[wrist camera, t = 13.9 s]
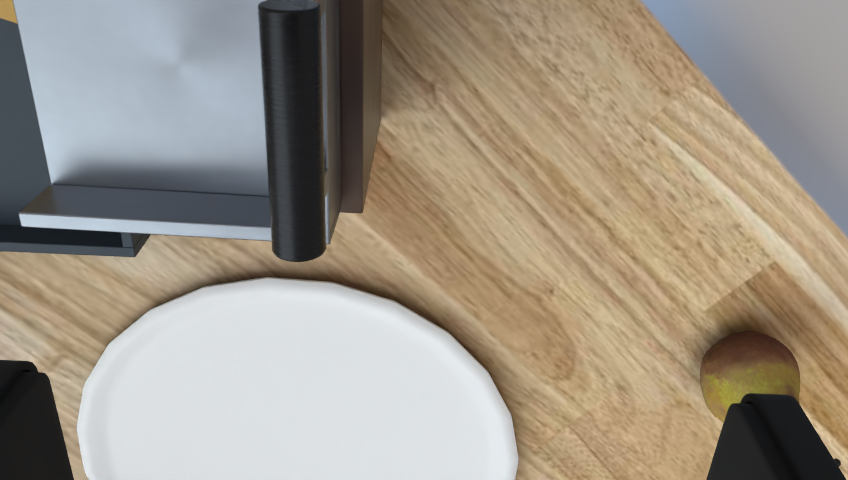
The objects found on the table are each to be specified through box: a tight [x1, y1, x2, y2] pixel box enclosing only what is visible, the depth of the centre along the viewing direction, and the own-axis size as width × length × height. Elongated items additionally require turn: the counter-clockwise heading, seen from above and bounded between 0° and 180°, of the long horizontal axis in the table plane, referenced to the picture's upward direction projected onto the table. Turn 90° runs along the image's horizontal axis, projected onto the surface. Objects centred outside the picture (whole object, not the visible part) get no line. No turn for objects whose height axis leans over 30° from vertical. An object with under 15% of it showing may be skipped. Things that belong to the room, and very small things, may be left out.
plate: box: [76, 277, 519, 480], centre depth 51 cm, size 29×29×1 cm
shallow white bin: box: [13, 0, 341, 262], centre depth 24 cm, size 12×11×8 cm
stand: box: [339, 0, 383, 213], centre depth 32 cm, size 12×12×11 cm
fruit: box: [700, 331, 841, 467], centre depth 42 cm, size 6×6×12 cm
